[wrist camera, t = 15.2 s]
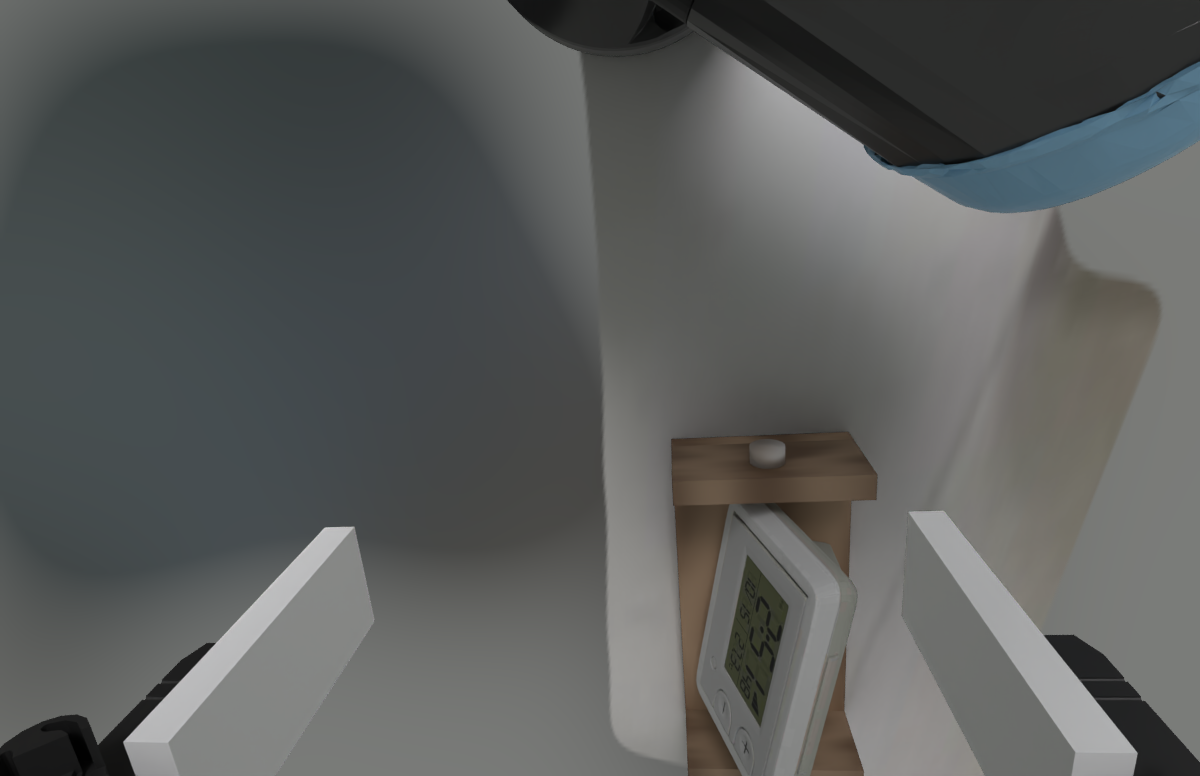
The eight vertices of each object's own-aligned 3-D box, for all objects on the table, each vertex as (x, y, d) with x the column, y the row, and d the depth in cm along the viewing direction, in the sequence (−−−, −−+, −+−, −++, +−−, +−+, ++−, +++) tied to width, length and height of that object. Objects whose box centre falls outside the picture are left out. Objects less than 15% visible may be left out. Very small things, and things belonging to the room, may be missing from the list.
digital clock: (740, 467, 43) (762, 561, 32) (875, 512, 43) (940, 620, 33) (654, 665, 48) (651, 798, 38) (775, 705, 48) (804, 848, 38)
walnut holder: (848, 416, 42) (878, 457, 36) (839, 725, 49) (862, 801, 44) (670, 424, 43) (671, 465, 38) (686, 724, 51) (689, 798, 45)
